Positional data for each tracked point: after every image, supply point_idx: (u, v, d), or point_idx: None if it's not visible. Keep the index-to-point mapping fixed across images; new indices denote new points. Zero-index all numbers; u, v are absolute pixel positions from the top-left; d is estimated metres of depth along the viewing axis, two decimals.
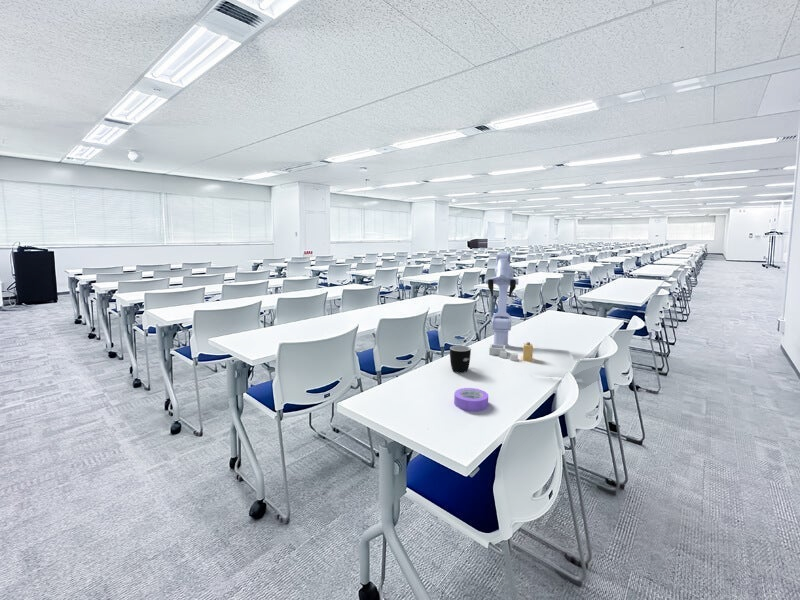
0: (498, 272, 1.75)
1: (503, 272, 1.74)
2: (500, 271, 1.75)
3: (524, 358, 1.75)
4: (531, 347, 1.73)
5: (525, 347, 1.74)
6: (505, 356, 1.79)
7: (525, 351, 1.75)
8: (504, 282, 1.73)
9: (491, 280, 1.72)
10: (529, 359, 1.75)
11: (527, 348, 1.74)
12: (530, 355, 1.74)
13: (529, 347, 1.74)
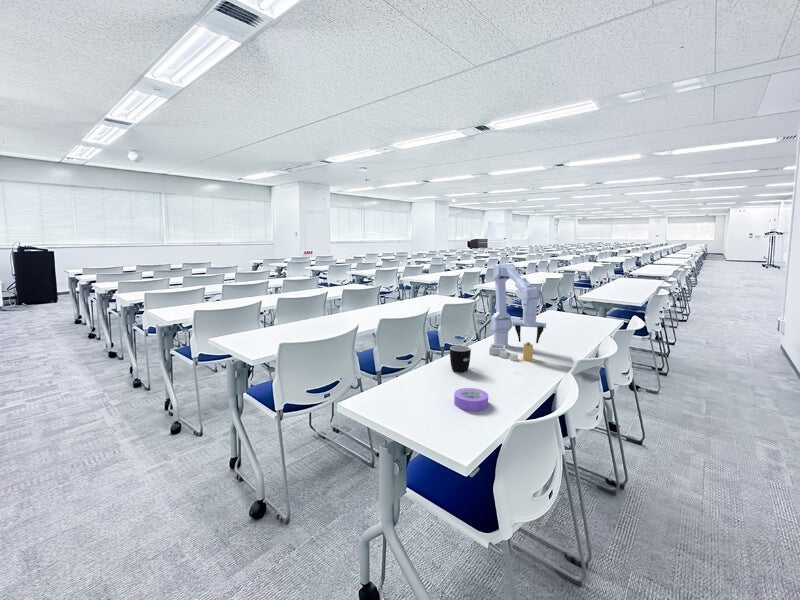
0: (525, 318, 1.72)
1: (530, 319, 1.71)
2: (527, 317, 1.71)
3: (524, 358, 1.75)
4: (531, 347, 1.73)
5: (525, 347, 1.74)
6: (505, 356, 1.79)
7: (525, 351, 1.75)
8: (531, 326, 1.74)
9: (518, 329, 1.73)
10: (529, 359, 1.75)
11: (527, 348, 1.74)
12: (530, 355, 1.74)
13: (529, 347, 1.74)
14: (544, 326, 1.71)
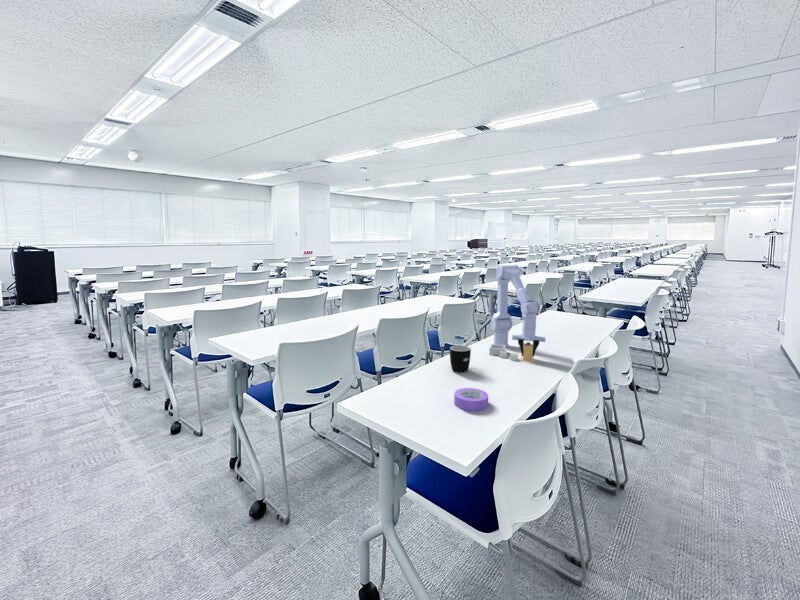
0: (525, 332, 1.73)
1: (530, 333, 1.72)
2: (527, 331, 1.72)
3: (524, 358, 1.75)
4: (531, 347, 1.73)
5: (525, 347, 1.74)
6: (505, 356, 1.79)
7: (525, 351, 1.75)
8: (531, 340, 1.75)
9: (521, 343, 1.74)
10: (529, 359, 1.75)
11: (527, 348, 1.74)
12: (530, 355, 1.74)
13: (529, 347, 1.74)
14: (543, 340, 1.72)
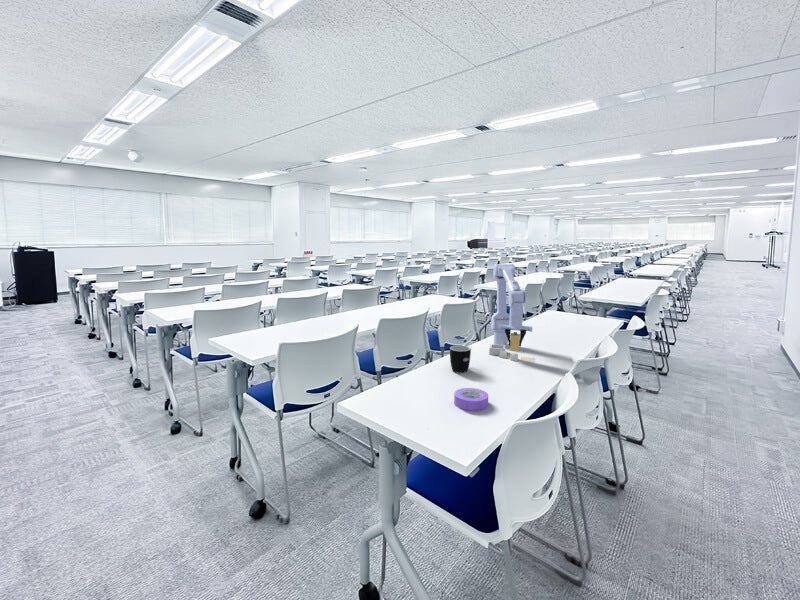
0: (512, 321, 1.72)
1: (517, 323, 1.71)
2: (514, 321, 1.71)
3: (511, 348, 1.74)
4: (518, 337, 1.72)
5: (512, 337, 1.73)
6: (505, 356, 1.79)
7: (512, 341, 1.74)
8: (518, 330, 1.74)
9: (508, 333, 1.73)
10: (516, 349, 1.74)
11: (514, 338, 1.73)
12: (517, 345, 1.73)
13: (516, 337, 1.73)
14: (530, 330, 1.71)
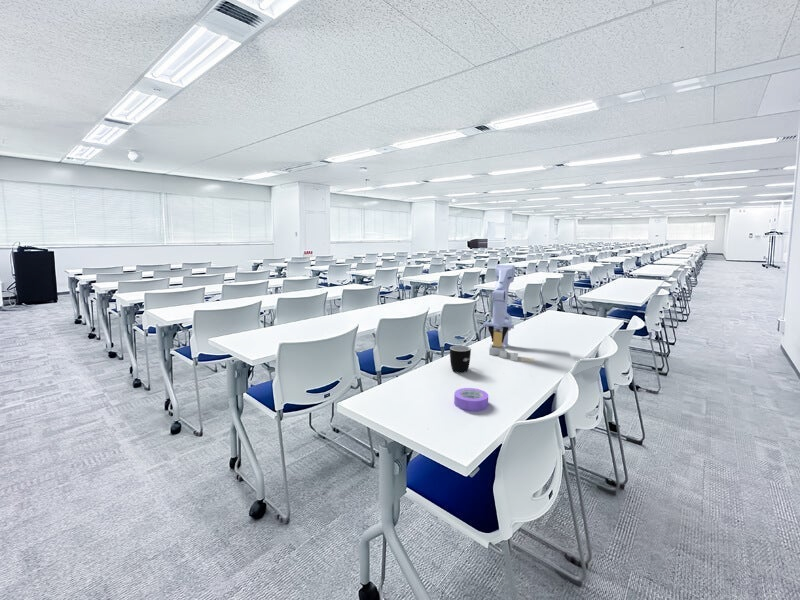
0: (494, 319, 1.82)
1: (499, 320, 1.81)
2: (496, 318, 1.81)
3: (494, 344, 1.84)
4: (500, 333, 1.82)
5: (495, 333, 1.83)
6: (505, 356, 1.79)
7: (495, 337, 1.83)
8: (500, 327, 1.84)
9: (491, 329, 1.83)
10: (499, 345, 1.84)
11: (497, 334, 1.83)
12: (499, 341, 1.83)
13: (498, 333, 1.83)
14: (512, 327, 1.81)
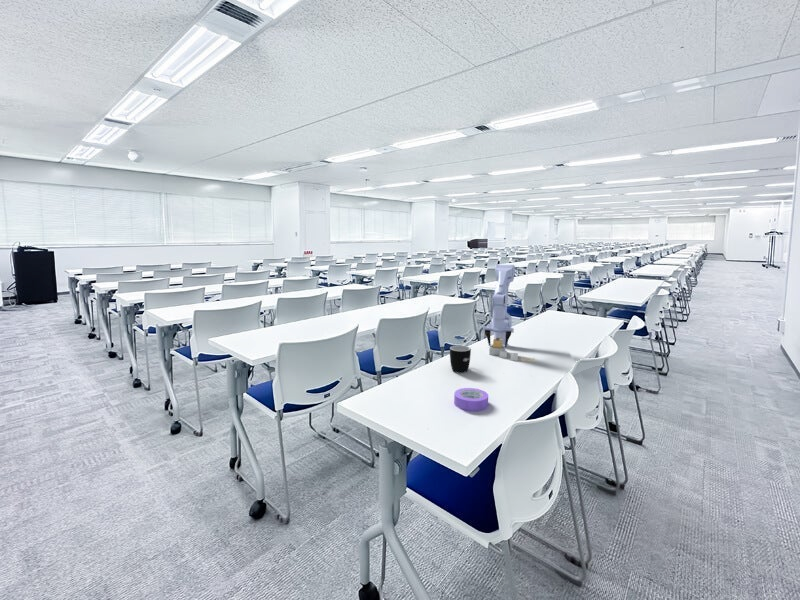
0: (494, 323, 1.82)
1: (499, 324, 1.81)
2: (496, 323, 1.82)
3: None
4: (500, 342, 1.83)
5: (494, 342, 1.84)
6: (505, 356, 1.79)
7: (495, 346, 1.84)
8: (500, 331, 1.84)
9: (488, 333, 1.84)
10: None
11: (496, 343, 1.84)
12: None
13: (498, 342, 1.83)
14: (512, 331, 1.82)
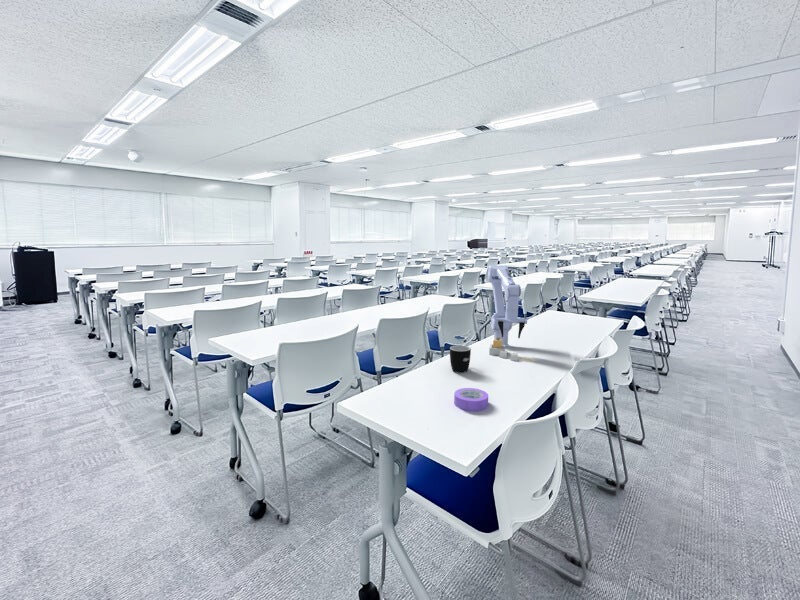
0: (507, 314, 1.81)
1: (512, 315, 1.80)
2: (509, 314, 1.80)
3: None
4: (500, 342, 1.83)
5: (494, 342, 1.84)
6: (505, 356, 1.79)
7: (495, 346, 1.84)
8: (513, 322, 1.83)
9: (501, 325, 1.82)
10: None
11: (496, 343, 1.84)
12: None
13: (498, 342, 1.83)
14: (525, 322, 1.80)
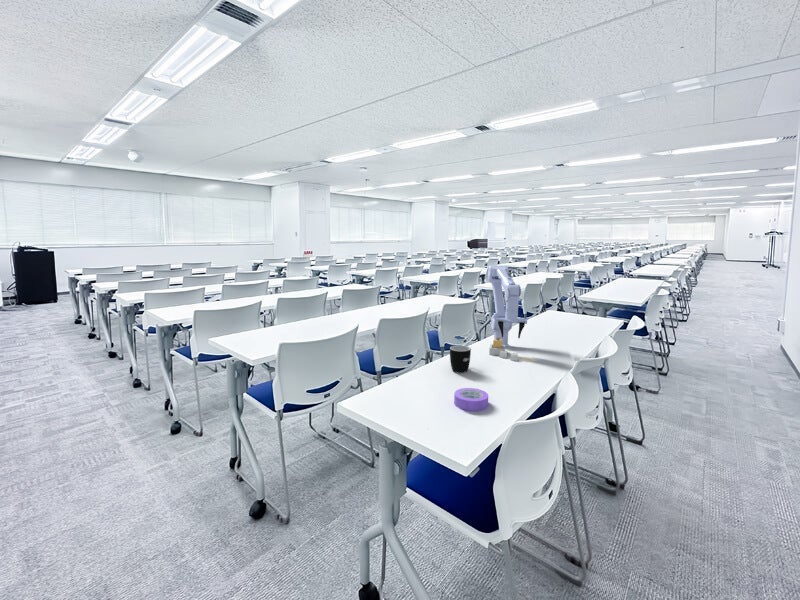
0: (507, 314, 1.81)
1: (512, 315, 1.80)
2: (509, 314, 1.80)
3: None
4: (500, 342, 1.83)
5: (494, 342, 1.84)
6: (505, 356, 1.79)
7: (495, 346, 1.84)
8: (513, 322, 1.83)
9: (501, 325, 1.82)
10: None
11: (496, 343, 1.84)
12: None
13: (498, 342, 1.83)
14: (525, 322, 1.80)
